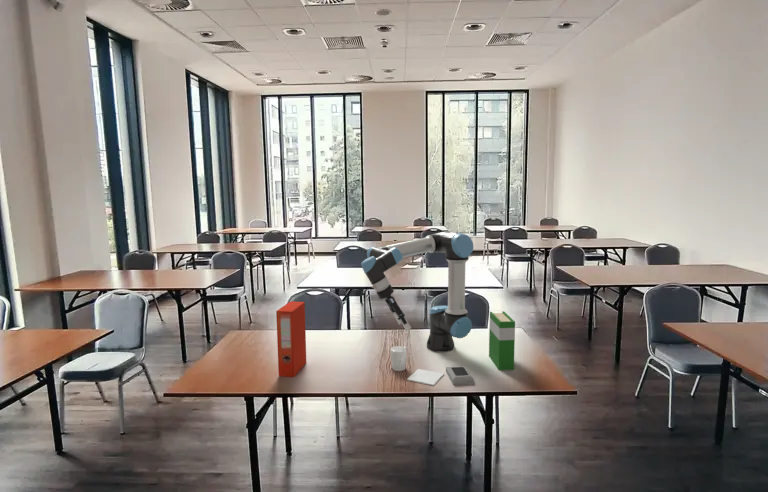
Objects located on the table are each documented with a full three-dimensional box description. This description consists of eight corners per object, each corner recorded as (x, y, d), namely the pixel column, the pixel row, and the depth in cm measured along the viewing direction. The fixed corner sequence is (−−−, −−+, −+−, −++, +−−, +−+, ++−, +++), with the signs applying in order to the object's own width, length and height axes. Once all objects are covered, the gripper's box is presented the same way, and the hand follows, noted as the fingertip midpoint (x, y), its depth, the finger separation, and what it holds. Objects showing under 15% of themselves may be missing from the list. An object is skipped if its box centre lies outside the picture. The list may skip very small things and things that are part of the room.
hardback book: (488, 356, 238) (489, 311, 235) (502, 355, 239) (504, 311, 235) (498, 370, 221) (499, 322, 218) (513, 369, 221) (515, 321, 218)
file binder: (307, 362, 233) (304, 301, 228) (294, 377, 216) (292, 311, 211) (291, 362, 234) (289, 301, 230) (278, 376, 217) (275, 310, 213)
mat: (418, 369, 222) (418, 368, 222) (443, 374, 216) (443, 373, 216) (407, 380, 211) (407, 379, 211) (433, 385, 205) (433, 384, 205)
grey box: (465, 364, 220) (474, 377, 206) (465, 371, 221) (473, 384, 206) (445, 364, 220) (453, 378, 205) (445, 372, 220) (453, 385, 205)
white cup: (408, 366, 227) (408, 346, 226) (404, 372, 220) (404, 352, 218) (392, 364, 229) (392, 345, 228) (388, 370, 222) (388, 351, 220)
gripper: (371, 288, 224) (392, 324, 227) (381, 296, 200) (404, 336, 203) (384, 280, 225) (405, 316, 228) (395, 287, 201) (418, 327, 204)
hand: (404, 326), depth 216 cm, fingers open, 13 cm apart
